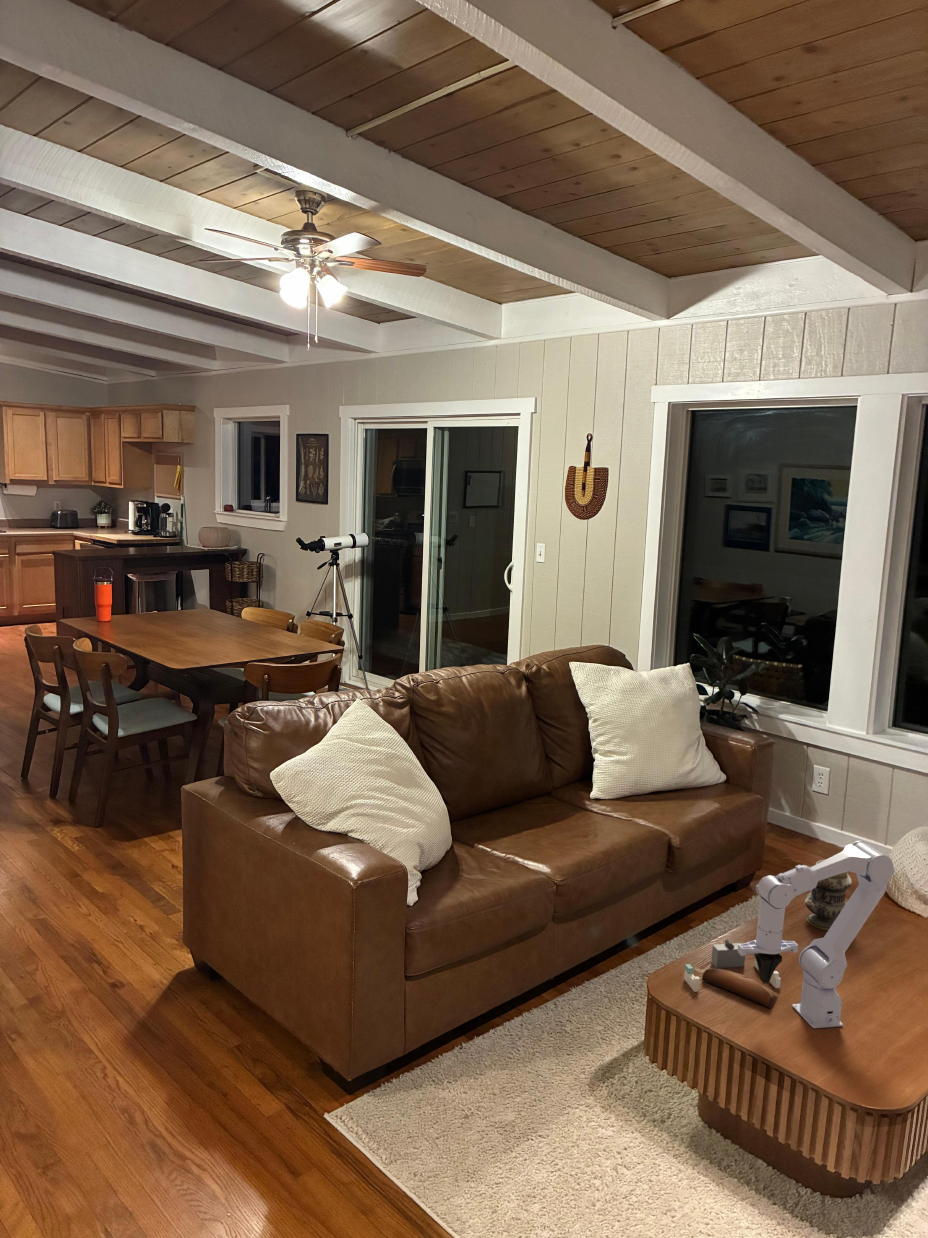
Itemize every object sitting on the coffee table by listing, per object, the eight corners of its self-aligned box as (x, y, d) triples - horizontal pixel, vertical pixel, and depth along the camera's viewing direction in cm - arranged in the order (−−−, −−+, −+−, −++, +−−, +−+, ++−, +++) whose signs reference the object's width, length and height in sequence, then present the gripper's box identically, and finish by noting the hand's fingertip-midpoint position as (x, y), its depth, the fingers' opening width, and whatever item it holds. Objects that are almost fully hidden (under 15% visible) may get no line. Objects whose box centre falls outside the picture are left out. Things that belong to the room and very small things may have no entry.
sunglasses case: (782, 995, 228) (779, 979, 225) (771, 1019, 224) (768, 1003, 221) (715, 969, 240) (711, 953, 236) (703, 991, 235) (699, 975, 232)
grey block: (744, 966, 242) (746, 944, 241) (716, 968, 240) (718, 946, 239) (738, 960, 245) (740, 939, 244) (711, 962, 243) (713, 940, 242)
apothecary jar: (842, 937, 260) (849, 878, 257) (798, 925, 266) (805, 867, 263) (849, 921, 270) (856, 863, 268) (807, 909, 276) (813, 853, 274)
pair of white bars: (779, 988, 232) (781, 973, 231) (696, 994, 227) (697, 979, 227) (757, 965, 242) (759, 951, 242) (677, 970, 238) (678, 956, 237)
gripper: (788, 917, 220) (783, 970, 222) (733, 920, 217) (728, 973, 219) (805, 932, 213) (799, 985, 215) (748, 935, 210) (742, 990, 212)
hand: (764, 980), depth 216 cm, fingers closed
